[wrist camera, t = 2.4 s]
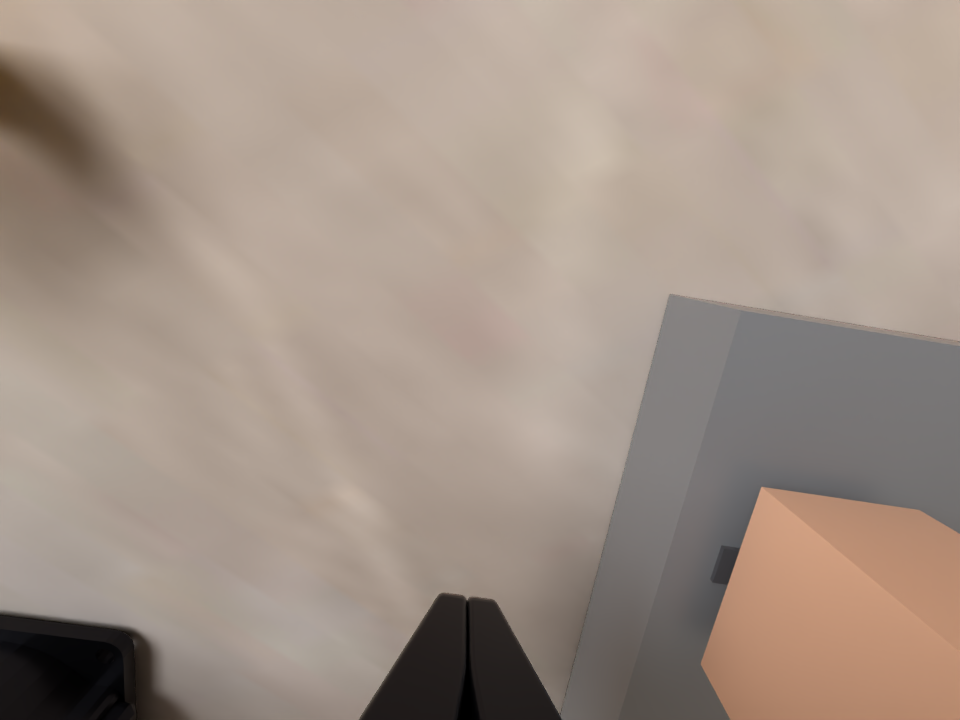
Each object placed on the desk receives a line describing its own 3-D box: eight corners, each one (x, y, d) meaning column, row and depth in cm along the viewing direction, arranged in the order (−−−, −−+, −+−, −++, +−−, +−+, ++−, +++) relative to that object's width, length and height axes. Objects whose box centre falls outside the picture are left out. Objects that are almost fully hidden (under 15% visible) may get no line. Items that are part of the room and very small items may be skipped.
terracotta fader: (700, 663, 9) (870, 980, 5) (761, 486, 8) (1026, 707, 4) (842, 682, 9) (1113, 1003, 5) (918, 509, 8) (1320, 746, 4)
